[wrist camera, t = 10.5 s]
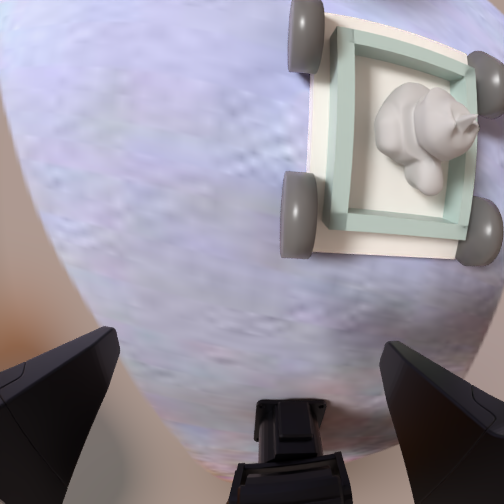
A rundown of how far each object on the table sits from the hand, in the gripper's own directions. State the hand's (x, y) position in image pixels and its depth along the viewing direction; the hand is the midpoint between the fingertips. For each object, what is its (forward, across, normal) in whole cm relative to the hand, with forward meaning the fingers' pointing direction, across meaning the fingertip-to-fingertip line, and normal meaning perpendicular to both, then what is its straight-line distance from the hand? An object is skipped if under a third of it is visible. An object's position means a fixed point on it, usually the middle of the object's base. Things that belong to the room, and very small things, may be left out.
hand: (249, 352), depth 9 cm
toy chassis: (+12, -9, -8) cm, 17 cm away
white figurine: (+11, -9, -8) cm, 16 cm away
